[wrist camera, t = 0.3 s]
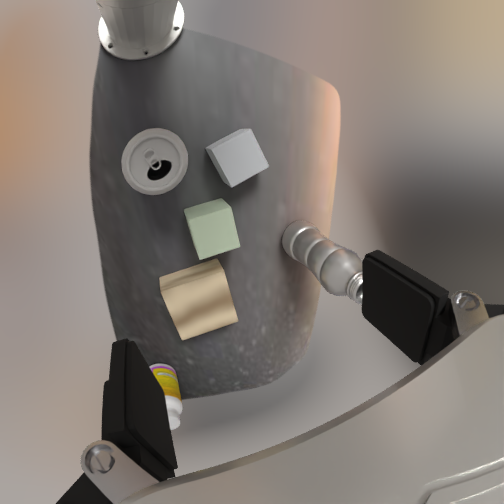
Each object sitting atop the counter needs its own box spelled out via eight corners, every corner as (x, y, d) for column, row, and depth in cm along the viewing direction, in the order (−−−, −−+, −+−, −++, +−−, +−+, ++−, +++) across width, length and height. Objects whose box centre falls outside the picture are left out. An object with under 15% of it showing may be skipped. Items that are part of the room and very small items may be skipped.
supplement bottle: (149, 358, 51) (155, 409, 40) (180, 366, 54) (192, 416, 43) (140, 379, 52) (144, 429, 41) (169, 386, 55) (178, 435, 44)
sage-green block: (183, 209, 43) (188, 220, 37) (221, 197, 44) (231, 207, 39) (193, 244, 45) (199, 260, 40) (229, 233, 47) (240, 246, 41)
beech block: (159, 276, 46) (160, 292, 41) (216, 257, 48) (223, 270, 43) (178, 323, 50) (182, 340, 46) (230, 305, 52) (238, 321, 48)
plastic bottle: (313, 217, 50) (391, 264, 33) (307, 253, 53) (376, 311, 35) (280, 216, 48) (353, 266, 31) (275, 254, 51) (338, 317, 33)
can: (146, 191, 40) (143, 211, 29) (119, 149, 36) (106, 154, 26) (189, 163, 40) (203, 173, 30) (164, 120, 36) (168, 113, 26)
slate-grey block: (204, 147, 40) (211, 149, 36) (240, 129, 41) (250, 128, 36) (223, 181, 43) (231, 187, 39) (256, 163, 44) (269, 166, 39)
